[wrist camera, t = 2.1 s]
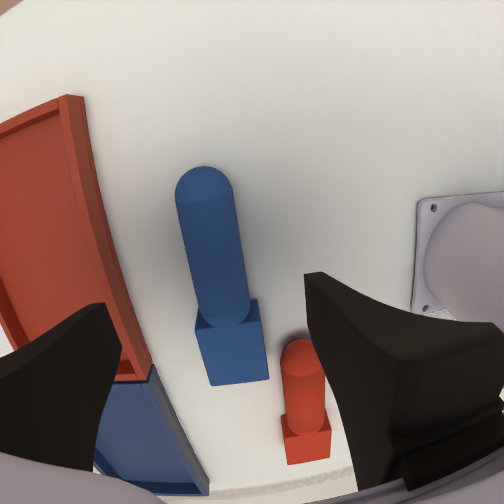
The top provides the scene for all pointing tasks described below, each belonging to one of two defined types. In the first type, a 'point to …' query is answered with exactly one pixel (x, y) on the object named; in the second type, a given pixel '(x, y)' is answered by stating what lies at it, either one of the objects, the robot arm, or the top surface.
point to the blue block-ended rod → (220, 280)
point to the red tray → (58, 232)
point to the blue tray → (147, 441)
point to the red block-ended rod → (304, 404)
